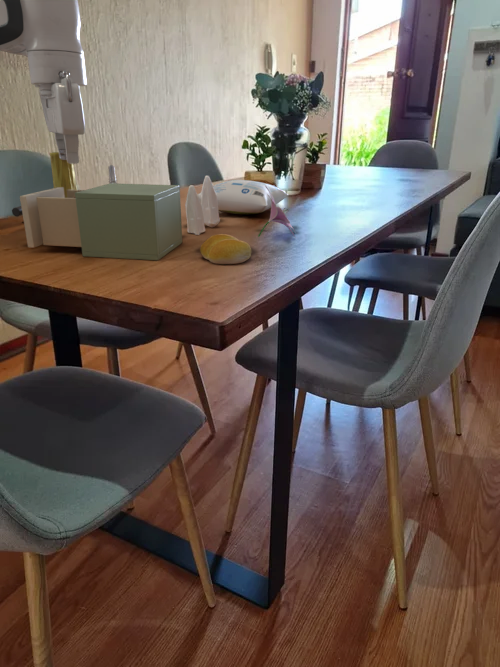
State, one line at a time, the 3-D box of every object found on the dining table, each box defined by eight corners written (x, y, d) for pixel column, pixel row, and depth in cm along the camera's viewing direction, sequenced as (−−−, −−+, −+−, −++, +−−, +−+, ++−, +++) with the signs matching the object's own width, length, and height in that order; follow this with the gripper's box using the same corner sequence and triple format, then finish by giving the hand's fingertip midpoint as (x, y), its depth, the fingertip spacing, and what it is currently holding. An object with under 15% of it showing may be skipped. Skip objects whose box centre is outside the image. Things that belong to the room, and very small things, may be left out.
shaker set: (208, 223, 117) (207, 173, 112) (224, 225, 115) (224, 174, 111) (181, 233, 106) (178, 178, 102) (198, 235, 105) (196, 179, 101)
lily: (280, 251, 97) (306, 206, 95) (231, 221, 100) (254, 177, 98) (295, 256, 108) (318, 216, 106) (250, 230, 111) (271, 190, 109)
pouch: (266, 187, 116) (288, 175, 134) (190, 186, 122) (220, 175, 139) (267, 222, 120) (288, 206, 137) (193, 219, 125) (222, 204, 143)
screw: (131, 223, 116) (122, 227, 112) (111, 222, 117) (102, 226, 113) (126, 163, 111) (116, 165, 107) (105, 163, 112) (95, 165, 108)
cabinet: (82, 256, 88) (74, 192, 84) (115, 239, 101) (110, 183, 97) (158, 260, 86) (153, 195, 82) (182, 242, 99) (179, 185, 94)
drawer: (6, 246, 91) (-4, 195, 88) (44, 232, 102) (37, 186, 99) (94, 250, 88) (88, 198, 85) (123, 235, 100) (119, 189, 96)
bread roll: (219, 268, 82) (218, 243, 80) (194, 256, 89) (193, 233, 87) (261, 261, 86) (262, 237, 85) (235, 250, 93) (234, 228, 92)
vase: (66, 214, 127) (58, 153, 122) (50, 211, 130) (42, 152, 125) (85, 210, 132) (78, 152, 126) (70, 208, 135) (62, 151, 129)
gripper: (89, 69, 77) (98, 165, 82) (69, 78, 94) (78, 157, 99) (45, 67, 74) (57, 166, 80) (32, 76, 91) (43, 158, 96)
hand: (68, 161), depth 90 cm, fingers open, 8 cm apart
